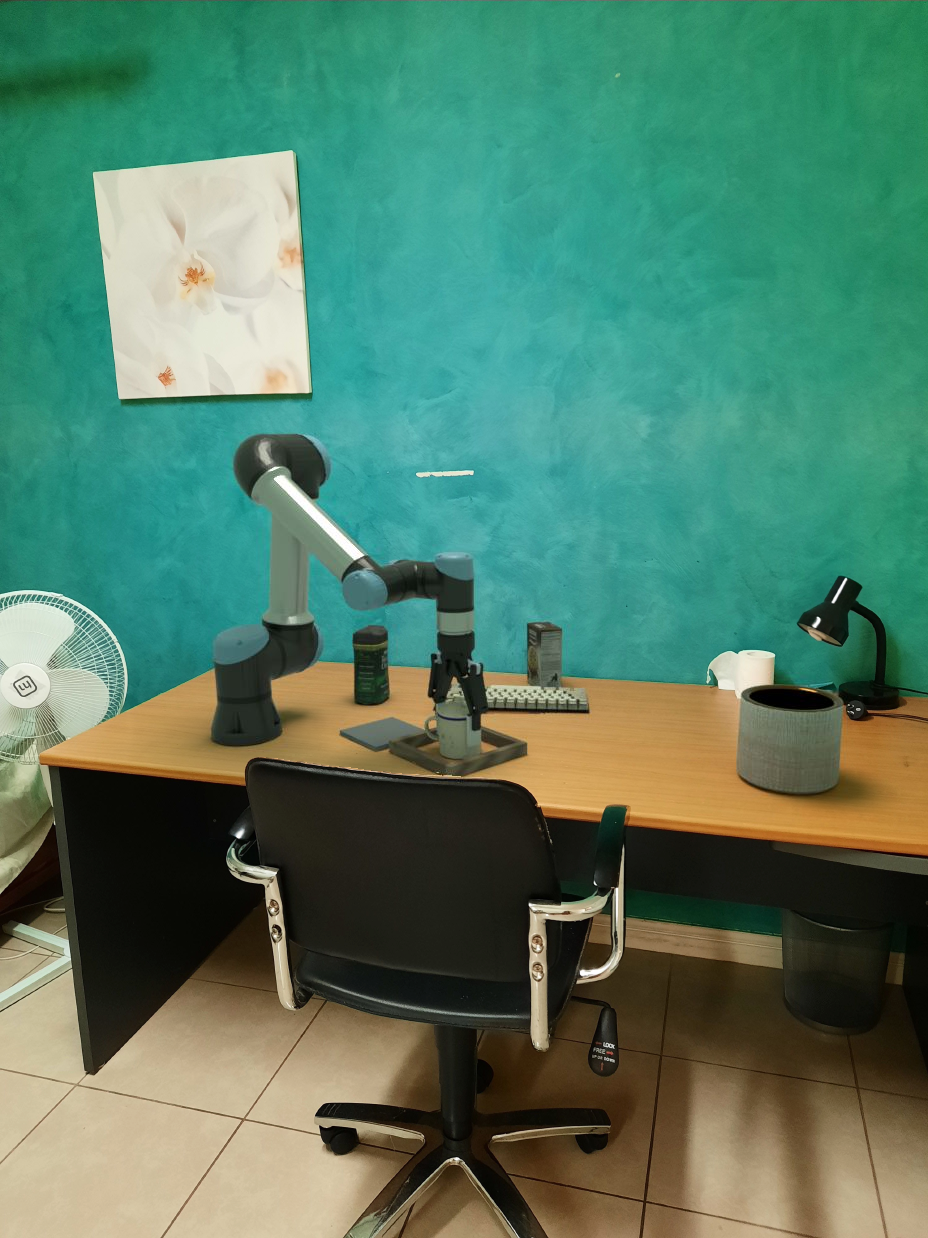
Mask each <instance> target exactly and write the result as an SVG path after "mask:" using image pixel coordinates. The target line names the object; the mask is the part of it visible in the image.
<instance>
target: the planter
mask: <svg viewBox="0 0 928 1238" xmlns="http://www.w3.org/2000/svg"><path fill="white" fill-rule="evenodd" d="M740 693H741V694H740V705H739V706H740V707H739V719H738V721H739V722H738V734H737V749H736V763H735V764H736V765H735V766H736V767H735V768H736V772H737V774H738V775H739V776H740V777H741V778H742V779H743V780H745V781H746V782H748V783H750V784H751V785H753V786H755V787H758V788H761V789H764V790H766V791H770V792H773V793H781V794H788V795H813V794H818V793H819V794H820V793H823V792H825V791H829V790H830V789H832V788H833V787H835V786H836V785H837V783H838V782H839V781H838V780H839V775H840V765H841V764H840V762H841V747H842V746H841V745H842V730H843V716H844V701H843V699H842V698H841V697H839V696H838V695H836V694H834V693H831V692H829V691H825V690H823V689H818V688H814V687H809V686H804V685H796V684H795V685H793V684H760V685H755V686H750V687H747V688H746V689H745V688H744V689H743V690H742V691H741V692H740Z"/></svg>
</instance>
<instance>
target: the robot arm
mask: <svg viewBox="0 0 928 1238" xmlns="http://www.w3.org/2000/svg"><path fill="white" fill-rule="evenodd" d="M232 469H233V474H234V478H235V480H236V482H237V484H238V486H239V487H240V489H241V490H242V491H243V493H244V494H245V495H246V496H247V497H248V499H250V500H251V501H252V502H253V503H254V504H255V505H256V506H261V507H263V506H264V508H266V509H267V510H268V512H270V513H271V516H270V517H271V521H270V523H271V526H270V554H269V555H270V557H269V559H270V560H269V562H270V563H269V564H270V565H269V596H268V597H269V598H268V600H269V602H268V603H269V605H268V606H269V607H268V609H267V610H266V611H265V612H264V613H263V614H261V615H262V616H261V624H260V625H259V624H245V625H241V626H234V627H230V628H228V629H225V630H223V631H221V632H219V633H218V634H217V635H216V636H215V637H214V639H213V643H212V645H213V647H212V648H213V653H212V659H213V667H214V678H215V688H216V689H215V690H216V691H215V692H216V706H215V710H214V715H213V717H212V722H211V726H210V734H211V735H210V736H211V740H212V741H213V742H214V743H218V744H220V745H224V746H250V745H257V744H261V743H266V742H269V741H272V740H274V739H276V738H278V737H280V736H281V734H282V733H283V722H282V718H281V717H280V713H279V712H278V708H277V706H276V704H275V702H274V699H273V692H272V689H273V688H272V681H274V680H277V679H282V678H284V677H287V676H290V675H293V674H298V673H301V672H304V671H305V670H307V669H309V668H311V667H313V666H314V665H315V664H317V662H318V661H319V660H320V658H321V656H322V654H323V650H324V636H323V632H321V631H320V627H319V626H318V624H317V623H316V622H315V616H314V615H313V614H312V613H311V612H310V611H309V606H308V605H309V586H310V585H309V583H310V582H309V581H310V562H311V561H310V556H311V554H312V555H313V556H314V557H315V558H316V560H318V561H319V562H320V563H321V564H322V565H323V566H324V567H325V568H326V569H327V570H328V571H329V572H330V573H331V574H332V575H333V576H334V578H336V579H337V580H338V581H339V583H341V594H342V596H343V598H344V602H345V603H346V605H347V606H349V608H351V609H352V610H355V611H358V612H363V611H373V610H378V609H380V608H382V607H386V606H389V605H392V604H397V603H400V602H404V601H405V602H406V601H408V600H412V599H421V600H422V599H423V600H435V606H436V607H435V608H436V609H435V611H436V612H435V615H436V619H435V621H436V625H435V626H436V630H438V632H437V633H436V642H437V643H436V648H437V651H438V652H433V653H430V664H431V665H430V674H429V681H428V689H427V698H429V699H432V701H433V703H434V704H435V711H434V714H435V715H434V716H438V715H437V712H438V709H439V708H440V707H442V706H444V705H447V704H449V702H447V701H446V702H444V701H445V700H448V699H447V694H448V691H449V688H450V685H451V684H453V683H452V682H453V679H454V678H455V679H456V682H458V683H459V684H460V685H461V688H462V691H463V695H464V698H465V701H466V704H467V707H468V710H469V714H467V746H468V747H472V746H475V745H478V744H480V729H481V726H482V715H484V714H483V713H486V712H488V711H489V708H488V702H487V696H486V690H485V685H486V684H485V679H484V663H482V662H475V661H474V659H473V658H472V657H473V656H472V652H473V651H474V650H475V649H476V648H475V647H476V634H475V632H474V629H475V603H474V602H475V595H474V594H475V571H474V558H473V556H472V554H470V553H469V552H463V551H446V552H445V551H444V552H440V553H437V554H436V555H435V558H434V561H425V560H424V561H422V560H411V559H407V558H403V559H391V560H389V561H388V562H387V564H385V565H382V566H381V565H379V563H378V562H376V560H374V559H373V558H372V557H371V556H370V555H369V554H368V553H367V552H366V551H365V550H364V549H363V548H362V547H361V546H360V545H359V544H357V542H356V541H355V540H353V539H352V537H350V536H349V535H348V534H347V532H345V530H343V529H342V528H341V527H340V526H339V524H337V523H336V521H334V520H333V519H332V517H331V516H329V515H328V514H327V513H326V512H325V511H324V510H323V509H322V508H321V507H320V506H319V505H318V503H316V502H317V501H318V500H319V499H320V488H321V487H323V486H324V485H325V484H326V482H327V481H328V480H329V478H330V476H331V471H332V463H331V458H330V455H329V452H328V450H327V448H326V447H325V446H324V444H323V442H321V441H320V440H319V439H318V438H316V437H314V436H312V435H309V434H301V433H258V434H254V435H251V436H249V437H247V438H245V439H244V440H243V441H242V442H241V443H239V445H238V447H237V449H235V452H234V455H233V461H232ZM474 707H475V709H474ZM481 714H482V715H481ZM435 721H436V722H435V723H436V727H437V734H438V735H439V721H437V720H435Z"/></svg>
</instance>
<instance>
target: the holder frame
mask: <svg viewBox="0 0 928 1238" xmlns="http://www.w3.org/2000/svg"><path fill="white" fill-rule="evenodd" d="M429 730H430V731H431V733H432V734H434V735H436V736H439V735H438V734H437V726H434V727H432V728H429ZM436 742H439V741H438V740H434V739H431V738H430V737H429V736H428V735H427V733H426V731H425V729H424V731H420V732H417V733H413V734H410V735H406V736H402V737H399V738H395V739H392V740H389V748H388V751H389V753H391V754H394V755H395V756H398V757H399V758H401V759H404V760H406V761H408V760H409V762H410V761H411V762H410V763H413V762H414V763H413V764H415V763H416V764H415V765H417V764H418V765H417V766H419V765H420V766H419V767H421V766H422V768H423V767H424V769H426V770H428V771H430V770H431V771H430V772H432V771H433V773H434V772H439V773H436V774H437V775H439V776H441V775H452V776H461V777H463V776H467V775H469V774H468V773H470V774H472V772H473V773H475V772H478V771H482V770H484V769H485V770H486V769H487V768H491V767H493V766H496V765H499V764H503V763H505V762H509V761H511V760H515V759H517V758H520V757H523V756H526V755H528V742H527V741H525V740H521V739H519V738H516V737H513V736H510V735H508V734H505V733H502V732H499V731H497V730H495V729H490V728H489V727H486V726H484V725H481V742H485V743H487V744H490V745H492V746H495V747H498V748H495V749H492V750H489V751H486V752H485V751H484V752H482V753H480V754H479V755H475V756H472V757H469V758H466V759H459V760H458V761H454V762H449V761H447V760H446V759H443V758H440V757H438V756H435V755H434V754H432V753H429V752H426V751H425V750H423V749H420V748H419V747H421V746H425V745H429V744H432V743H436Z"/></svg>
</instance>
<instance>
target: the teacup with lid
mask: <svg viewBox="0 0 928 1238" xmlns="http://www.w3.org/2000/svg"><path fill="white" fill-rule="evenodd" d="M474 709H475V707H474ZM467 714H469V710H468V707H467V704H466V701H464V698H463V697H461V696H458V697H455V699H454V701H453V702H451V703H449V704H447V705H444V706H442V707H440V708H439V709H438V712H437V715H438V716H436V715H432V716H429V717H428V718H426V720H425V721H424V725H423V726H424V727H423V729H424V730H425V731H426V733H427V735H428V736H429V737H430V738H431V739H434V740H438V741H437V742H438V748H439V749H438V752H439V754H440V755H441V756H443V757H444V758H447V759H452V760H463V759H466V758H469V757H472V756H475V755H479V754H482V753H481V752H482V740H481V729H480V744H478V745H475V746H472V747H468V746H467ZM482 715H483V714H481V716H482ZM436 720H437V721H439V736H436V735H434V734H432V733H431V731H430V730H429V729H430V727H429V723H430V722H431V721H436Z"/></svg>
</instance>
